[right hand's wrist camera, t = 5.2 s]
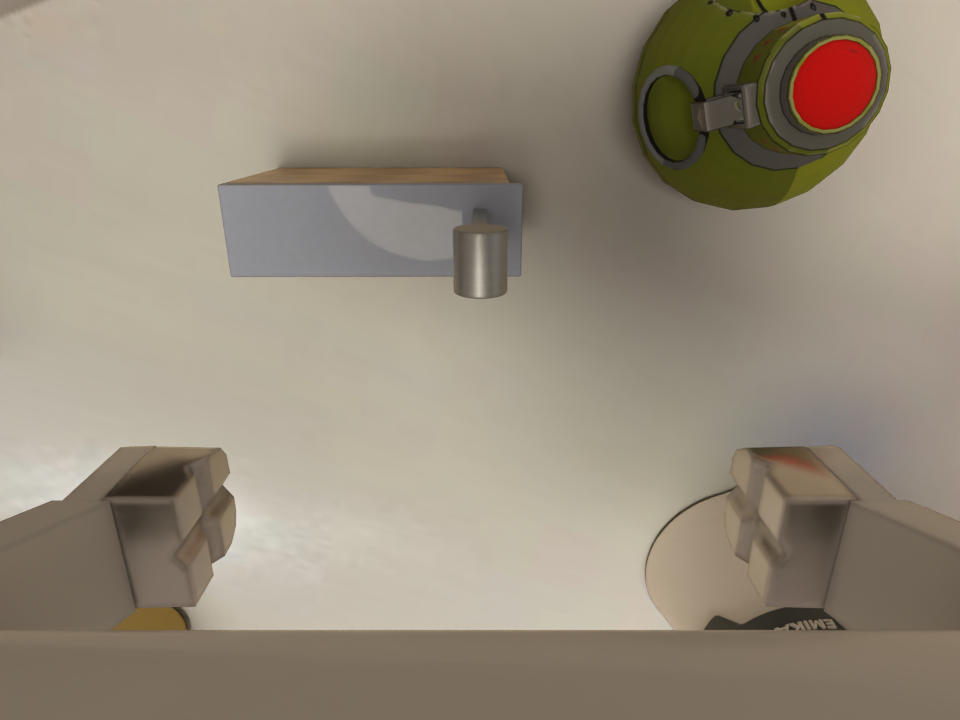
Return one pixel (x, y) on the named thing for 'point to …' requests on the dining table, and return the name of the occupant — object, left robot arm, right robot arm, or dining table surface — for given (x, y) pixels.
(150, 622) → the paper tube
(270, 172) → the brown rectangular box
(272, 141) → the dining table surface
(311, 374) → the dining table surface
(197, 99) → the dining table surface
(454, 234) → the lid
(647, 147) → the grenade
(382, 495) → the dining table surface
